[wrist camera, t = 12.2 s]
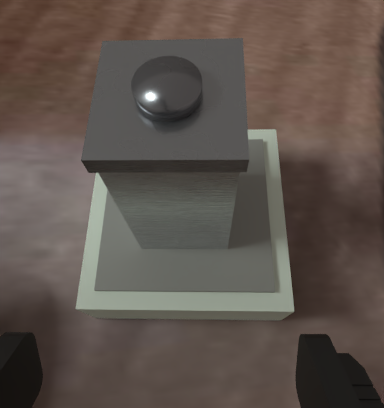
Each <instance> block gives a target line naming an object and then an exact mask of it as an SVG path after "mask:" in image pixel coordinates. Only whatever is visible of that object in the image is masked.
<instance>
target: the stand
mask: <svg viewBox="0 0 384 408" xmlns="http://www.w3.org/2000/svg"><path fill="white" fill-rule="evenodd" d="M248 145H249V164H248V169H247V172H240V174H239V180H238V186H237V193H236V199H235V205H234V211H233V218H232V224H231V230H230V236H229V242H228V249H141V247H140V246H139V244H138V242H137V240H136V238H135V237H134V235H133V233H132V231H131V230H130V228H129V226H128V224H127V223H126V221H125V219H124V217H123V216H122V214H121V212H120V210H119V209H118V207H117V205H116V203H115V202H114V200H113V198H112V196H111V194H110V193H109V191H108V189H107V187H106V186H105V184H104V182H103V180H102V179H101V177H100V175H99V173H96V177H95V183H94V190H93V197H92V203H91V210H90V217H89V223H88V230H87V237H86V243H85V250H84V256H83V263H82V270H81V276H80V283H79V290H78V296H77V303H76V310H78V311H81V312H83V313H85V314H88V315H90V316H92V317H95V318H116V319H197V320H278V321H281V320H282V319H284V318H285V317H287V316H289V315H290V314H292V313H293V312H295V311H294V302H293V292H292V282H291V272H290V262H289V253H288V243H287V233H286V223H285V213H284V204H283V194H282V184H281V174H280V164H279V155H278V145H277V135H276V129H273V130H248Z"/></svg>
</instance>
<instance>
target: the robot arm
mask: <svg viewBox="0 0 384 408" xmlns="http://www.w3.org/2000/svg"><path fill="white" fill-rule="evenodd" d="M42 378H43V373H42V367H41V362H40V358H39V353H38V349H37V344H36V340H35V336H34V335H33V333H30V332H7V333H4V334H3V335H2V336H1V337H0V408H31V407H32V405H33V403H34V402H35V400H36V398H37V396H38V394H39V391H40V388H41V385H42ZM296 389H297V394H298V399H299V402H300V406H301V408H384V404H383V403H381V399H380V397H379V395H378V393H377V392H376V390H375V388H373V384H372V382H371V380H370V379H369V377H368V375H367V373H366V371H365V369H364V368H363V367H362V366H361V365H360V364H359V363H358V362H357V361H356V360H355V359H354V358H353V357H352V356H351V355H350V354H349V353H337V352H336V350H335V348H334V346H333V344H332V342H331V340H330V338H329V336H328V335H327V334H301V335H300V337H299V344H298V355H297V365H296Z"/></svg>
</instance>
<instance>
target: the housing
mask: <svg viewBox="0 0 384 408" xmlns="http://www.w3.org/2000/svg"><path fill="white" fill-rule="evenodd" d="M81 161H82V163H83V164H84V166H85V167H86V169H87V171H88V172H89V173H99V175H100V177H101V179H102V180H103V182H104V184H105V186H106V187H107V189H108V191H109V193H110V194H111V196H112V198H113V200H114V202H115V203H116V205H117V207H118V209H119V210H120V212H121V214H122V216H123V217H124V219H125V221H126V223H127V224H128V226H129V228H130V230H131V231H132V233H133V235H134V237H135V238H136V240H137V242H138V244H139V246H140V247H141V249H228V242H229V236H230V230H231V224H232V218H233V211H234V205H235V199H236V193H237V186H238V180H239V174H240V172H247V169H248V164H249V145H248V127H247V109H246V90H245V72H244V53H243V38H233V39H184V40H135V41H103V42H102V47H101V53H100V58H99V64H98V69H97V75H96V80H95V86H94V91H93V97H92V103H91V108H90V114H89V119H88V125H87V130H86V136H85V141H84V147H83V153H82V158H81Z"/></svg>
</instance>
